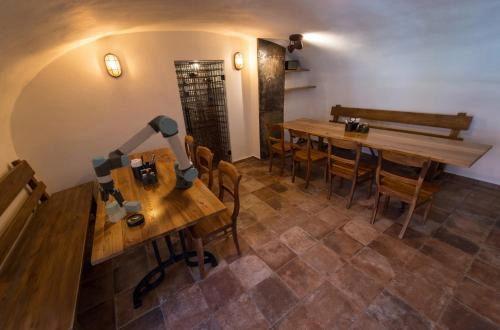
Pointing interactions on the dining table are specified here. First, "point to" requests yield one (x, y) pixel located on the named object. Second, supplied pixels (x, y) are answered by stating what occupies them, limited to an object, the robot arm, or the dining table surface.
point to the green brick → (112, 208)
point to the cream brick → (117, 216)
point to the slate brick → (133, 207)
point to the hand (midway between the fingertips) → (116, 210)
